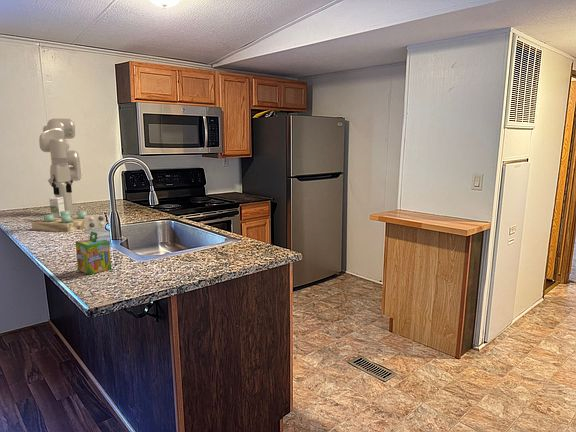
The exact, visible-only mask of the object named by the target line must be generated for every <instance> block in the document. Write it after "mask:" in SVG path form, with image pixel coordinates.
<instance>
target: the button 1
mask: <svg viewBox="0 0 576 432" xmlns="http://www.w3.org/2000/svg"><path fill="white" fill-rule="evenodd" d="M43 220H44V222H53V221H54V217H53V214H51V213H50V214H44V215H43Z"/></svg>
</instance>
